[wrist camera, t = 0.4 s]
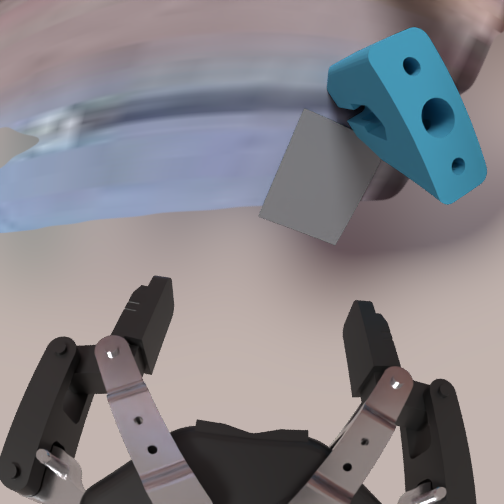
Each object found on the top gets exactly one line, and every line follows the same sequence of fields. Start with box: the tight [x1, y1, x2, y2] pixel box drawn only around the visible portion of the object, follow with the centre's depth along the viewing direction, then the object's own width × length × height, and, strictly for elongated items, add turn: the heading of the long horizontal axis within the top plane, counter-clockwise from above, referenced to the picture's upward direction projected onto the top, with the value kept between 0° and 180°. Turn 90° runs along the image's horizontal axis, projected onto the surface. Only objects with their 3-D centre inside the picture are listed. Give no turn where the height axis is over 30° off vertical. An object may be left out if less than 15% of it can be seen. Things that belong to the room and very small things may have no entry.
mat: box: [259, 108, 382, 245], centre depth 38 cm, size 16×12×1 cm
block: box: [327, 27, 487, 205], centre depth 24 cm, size 12×5×20 cm, turn 37°
